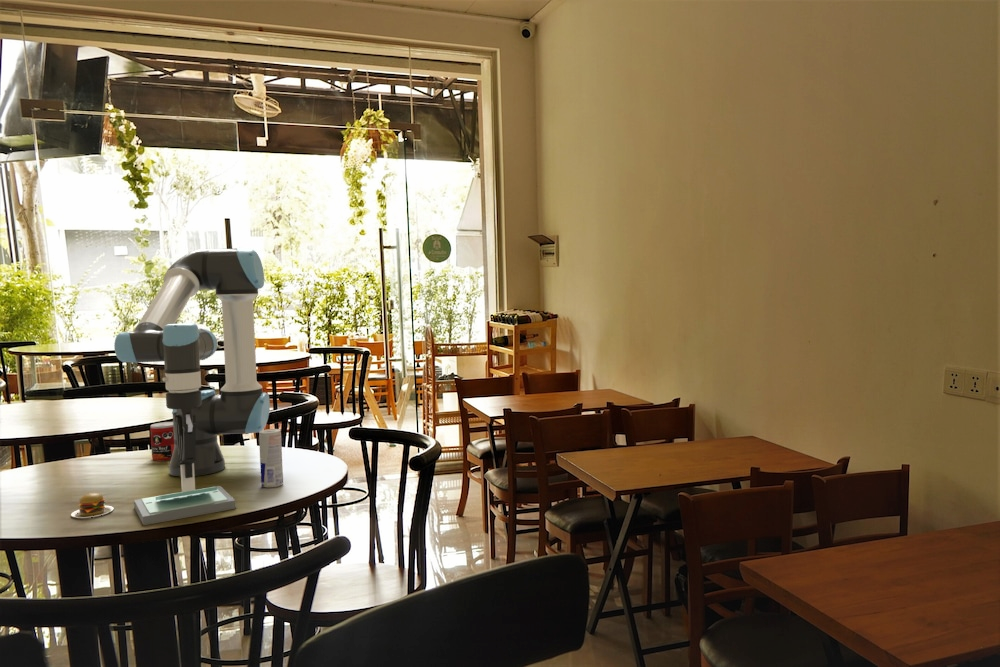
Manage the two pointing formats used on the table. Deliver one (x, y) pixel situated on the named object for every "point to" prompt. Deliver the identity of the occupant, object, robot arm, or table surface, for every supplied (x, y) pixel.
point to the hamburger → (92, 506)
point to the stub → (186, 493)
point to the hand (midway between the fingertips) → (188, 490)
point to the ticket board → (183, 506)
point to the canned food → (162, 441)
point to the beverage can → (271, 458)
